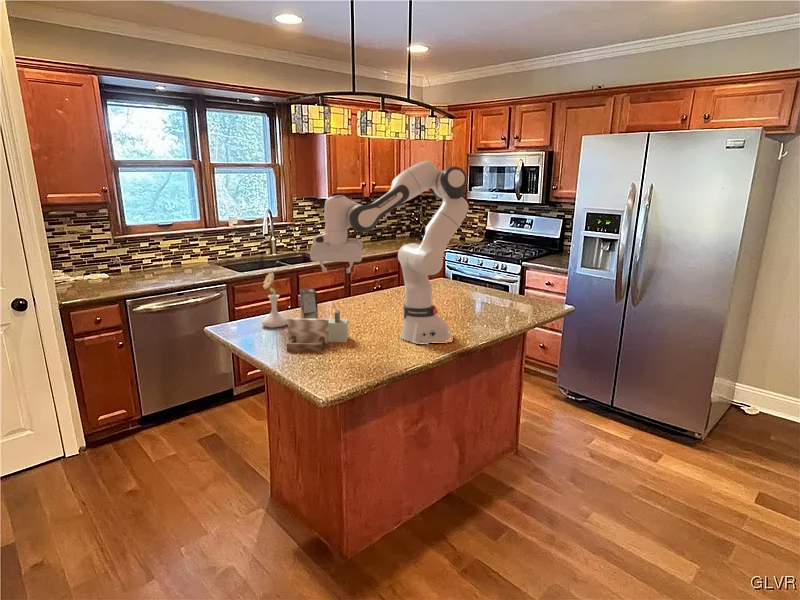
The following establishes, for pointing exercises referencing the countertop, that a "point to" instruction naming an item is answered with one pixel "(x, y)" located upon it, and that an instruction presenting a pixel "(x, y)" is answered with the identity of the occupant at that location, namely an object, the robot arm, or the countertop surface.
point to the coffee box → (309, 304)
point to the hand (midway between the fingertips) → (336, 272)
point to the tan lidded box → (307, 334)
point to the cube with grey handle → (338, 328)
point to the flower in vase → (273, 306)
